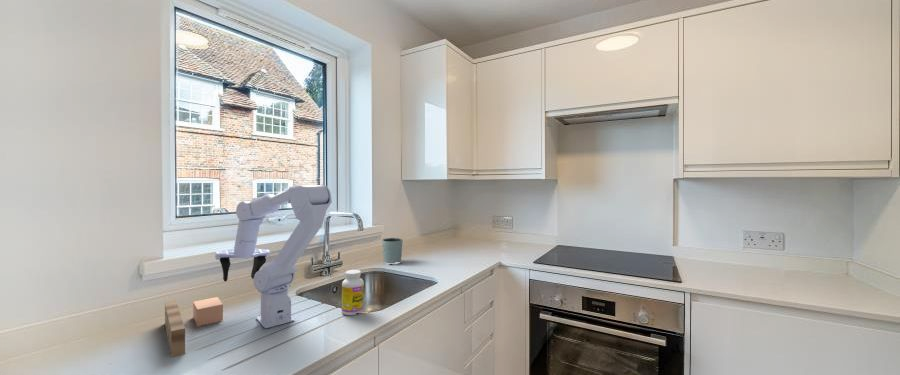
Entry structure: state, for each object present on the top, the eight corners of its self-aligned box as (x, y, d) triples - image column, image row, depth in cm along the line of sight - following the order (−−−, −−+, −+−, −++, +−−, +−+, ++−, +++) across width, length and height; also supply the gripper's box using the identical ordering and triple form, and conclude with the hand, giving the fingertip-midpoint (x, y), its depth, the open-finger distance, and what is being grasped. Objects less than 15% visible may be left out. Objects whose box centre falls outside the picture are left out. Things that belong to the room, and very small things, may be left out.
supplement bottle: (351, 317, 101) (352, 275, 101) (337, 313, 105) (337, 272, 104) (367, 310, 107) (368, 270, 106) (353, 306, 110) (353, 267, 110)
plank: (185, 353, 79) (185, 328, 79) (171, 356, 78) (171, 331, 77) (176, 321, 97) (176, 300, 97) (164, 323, 95) (164, 302, 95)
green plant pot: (403, 260, 173) (403, 237, 173) (401, 265, 163) (401, 241, 163) (383, 260, 173) (383, 237, 172) (380, 265, 162) (380, 241, 162)
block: (222, 320, 98) (222, 304, 98) (197, 327, 94) (197, 309, 94) (217, 312, 104) (217, 297, 103) (193, 318, 99) (193, 301, 99)
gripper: (268, 233, 112) (261, 271, 113) (216, 233, 102) (209, 274, 103) (274, 241, 107) (266, 280, 108) (220, 242, 97) (213, 285, 98)
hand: (239, 278), depth 106 cm, fingers open, 7 cm apart
